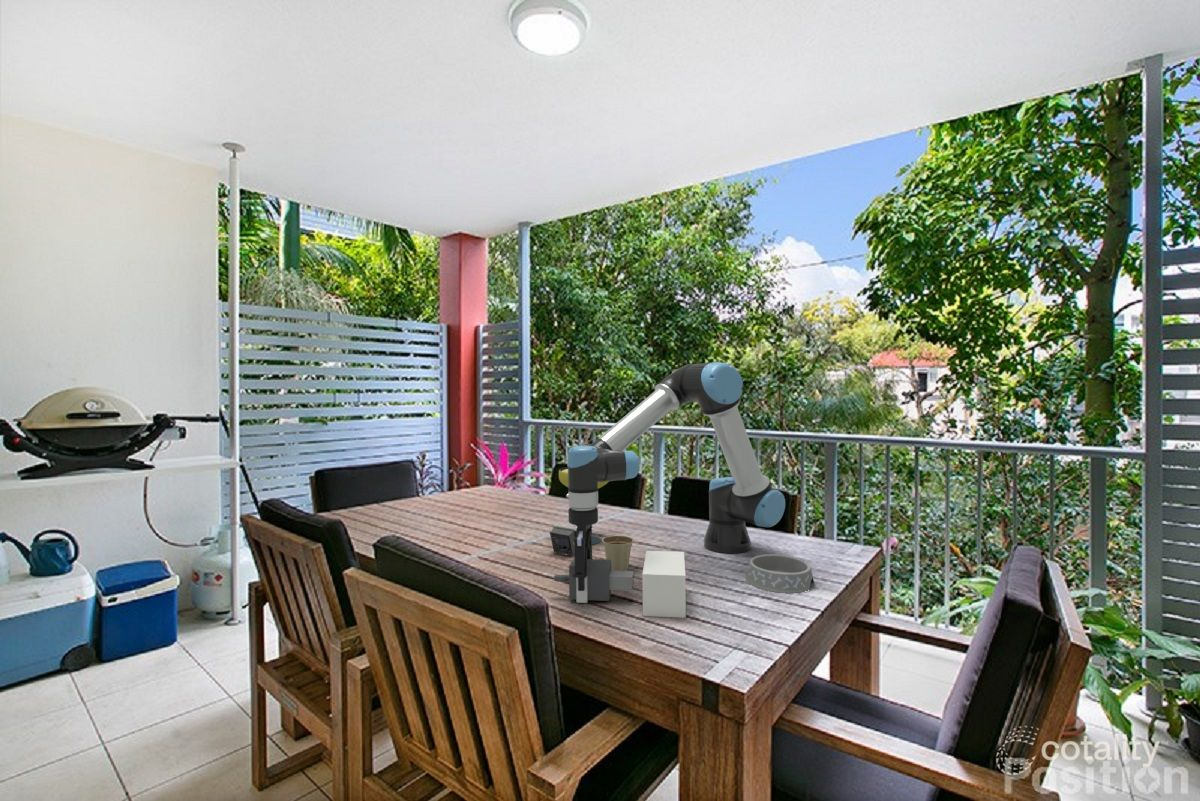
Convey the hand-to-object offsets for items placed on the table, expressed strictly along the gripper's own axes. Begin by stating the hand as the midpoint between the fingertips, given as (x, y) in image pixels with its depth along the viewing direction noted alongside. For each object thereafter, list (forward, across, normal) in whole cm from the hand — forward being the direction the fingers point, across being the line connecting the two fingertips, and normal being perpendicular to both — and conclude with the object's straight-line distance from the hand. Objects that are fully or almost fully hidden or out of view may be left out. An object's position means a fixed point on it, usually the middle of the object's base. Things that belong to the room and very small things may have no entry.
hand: (584, 596), depth 141 cm
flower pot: (+1, -23, +6) cm, 24 cm away
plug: (0, 0, +2) cm, 2 cm away
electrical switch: (+1, -35, -12) cm, 37 cm away
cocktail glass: (+1, -50, -8) cm, 51 cm away
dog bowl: (+1, -18, +52) cm, 55 cm away
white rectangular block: (0, 0, +20) cm, 21 cm away
